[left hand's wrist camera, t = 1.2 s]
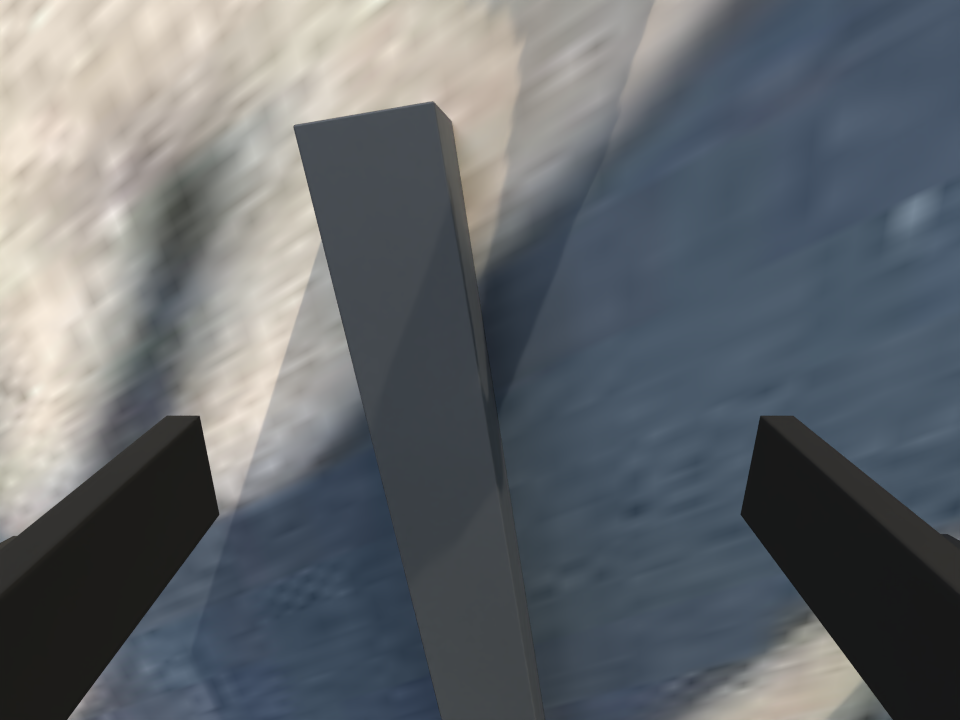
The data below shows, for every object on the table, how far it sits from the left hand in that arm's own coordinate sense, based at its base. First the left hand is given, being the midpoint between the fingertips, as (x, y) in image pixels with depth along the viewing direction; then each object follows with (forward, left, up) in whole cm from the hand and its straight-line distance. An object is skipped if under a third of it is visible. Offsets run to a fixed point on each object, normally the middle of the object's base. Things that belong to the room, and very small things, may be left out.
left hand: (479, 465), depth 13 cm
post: (+10, +21, -16) cm, 28 cm away
